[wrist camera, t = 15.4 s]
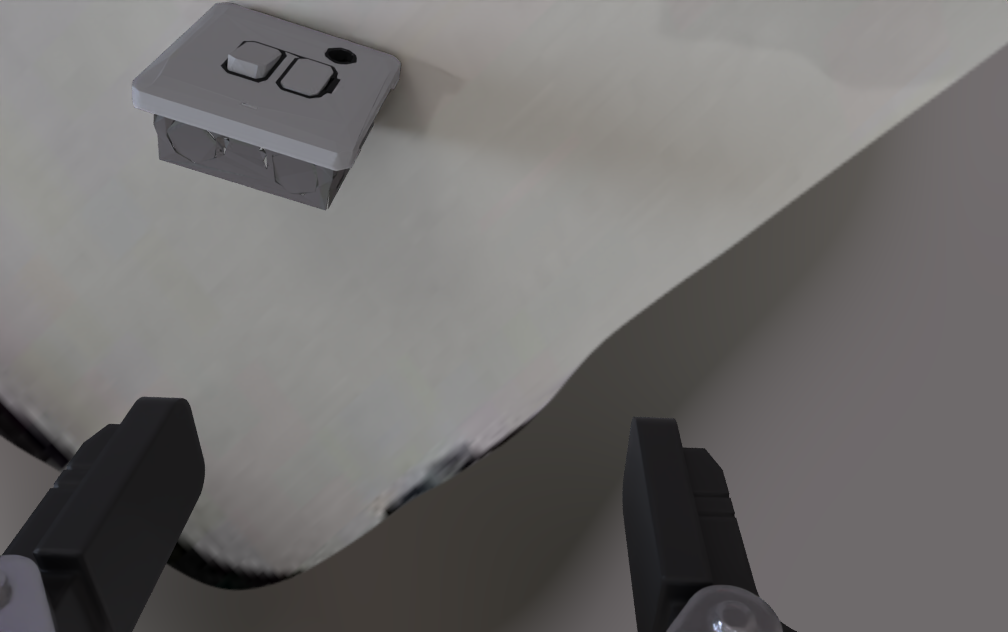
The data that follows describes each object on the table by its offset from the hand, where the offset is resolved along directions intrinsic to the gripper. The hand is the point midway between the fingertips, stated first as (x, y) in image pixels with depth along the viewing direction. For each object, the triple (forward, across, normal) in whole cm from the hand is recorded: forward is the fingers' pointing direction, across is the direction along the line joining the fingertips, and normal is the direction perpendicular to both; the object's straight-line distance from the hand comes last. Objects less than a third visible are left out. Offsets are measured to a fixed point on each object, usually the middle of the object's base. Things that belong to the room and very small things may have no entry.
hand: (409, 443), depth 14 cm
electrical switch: (+29, +9, +2) cm, 30 cm away
